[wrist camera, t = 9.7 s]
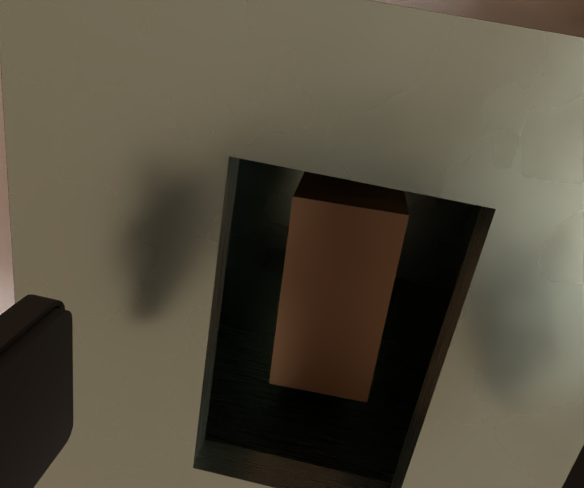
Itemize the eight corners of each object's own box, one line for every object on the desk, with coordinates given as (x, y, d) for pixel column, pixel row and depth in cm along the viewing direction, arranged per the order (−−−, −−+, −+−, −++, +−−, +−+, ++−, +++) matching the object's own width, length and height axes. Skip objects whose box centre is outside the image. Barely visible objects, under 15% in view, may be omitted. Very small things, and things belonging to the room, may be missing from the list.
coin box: (598, 53, 17) (853, 84, 8) (471, 392, 23) (536, 638, 14) (185, -19, 18) (-7, -65, 9) (161, 323, 24) (27, 509, 15)
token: (398, 160, 19) (408, 215, 13) (369, 304, 21) (367, 402, 16) (316, 147, 19) (292, 196, 14) (295, 291, 21) (268, 383, 16)
